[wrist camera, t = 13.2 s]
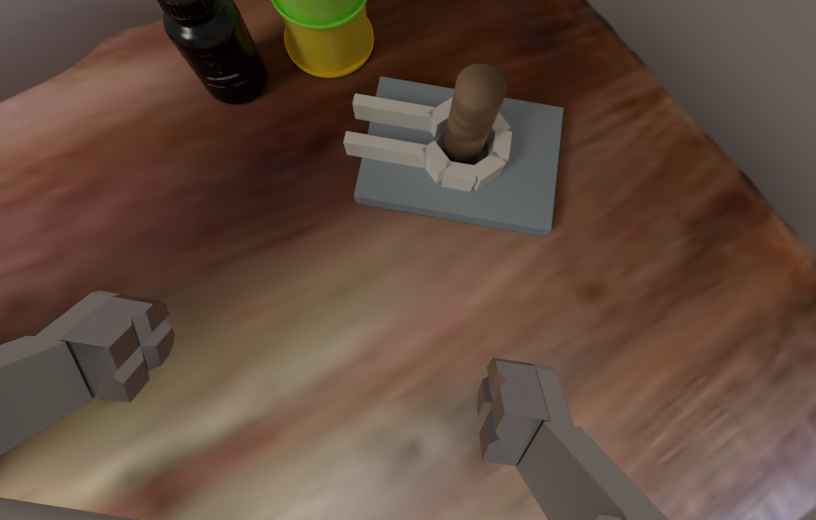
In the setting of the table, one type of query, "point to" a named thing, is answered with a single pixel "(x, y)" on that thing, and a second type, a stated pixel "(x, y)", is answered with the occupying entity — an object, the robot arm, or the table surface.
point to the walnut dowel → (473, 112)
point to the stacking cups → (326, 35)
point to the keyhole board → (492, 200)
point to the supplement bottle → (216, 47)
